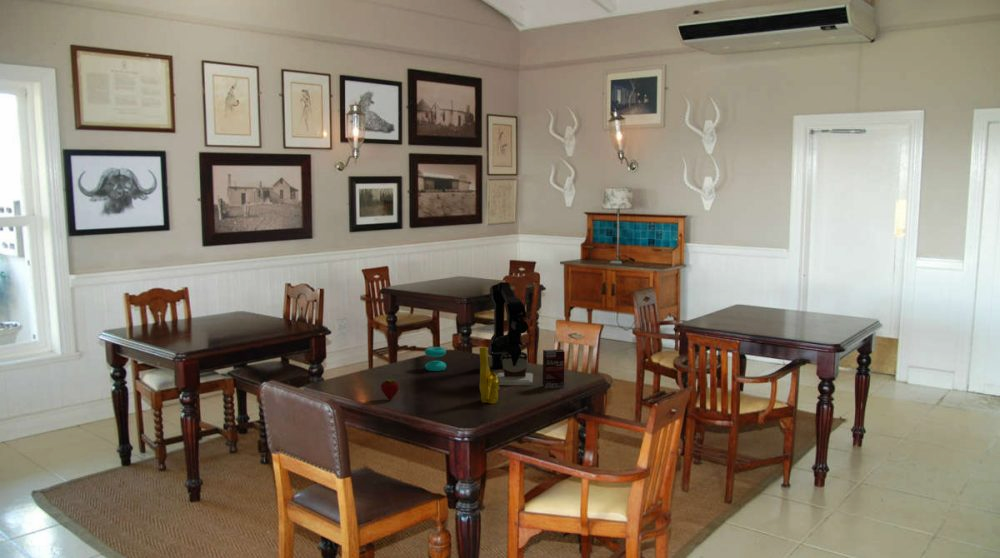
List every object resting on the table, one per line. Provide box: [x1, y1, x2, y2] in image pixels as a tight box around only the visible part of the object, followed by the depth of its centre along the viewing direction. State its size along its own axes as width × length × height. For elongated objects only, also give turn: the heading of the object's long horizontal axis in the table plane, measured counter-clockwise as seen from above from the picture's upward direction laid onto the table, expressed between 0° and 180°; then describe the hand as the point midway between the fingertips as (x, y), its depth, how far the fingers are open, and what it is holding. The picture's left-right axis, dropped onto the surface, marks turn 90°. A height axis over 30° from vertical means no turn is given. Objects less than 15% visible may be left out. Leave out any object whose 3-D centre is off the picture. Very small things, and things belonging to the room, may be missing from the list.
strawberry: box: [380, 378, 400, 401], centre depth 317 cm, size 6×8×10 cm
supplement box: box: [542, 349, 566, 389], centre depth 337 cm, size 9×5×16 cm, turn 102°
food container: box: [501, 351, 529, 377], centre depth 349 cm, size 12×6×10 cm, turn 87°
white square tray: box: [496, 372, 534, 386], centre depth 349 cm, size 16×16×2 cm
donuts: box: [424, 346, 447, 372], centre depth 371 cm, size 10×10×10 cm
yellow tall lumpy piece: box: [479, 346, 501, 405], centre depth 313 cm, size 18×8×22 cm, turn 166°
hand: (514, 364), depth 348 cm, fingers closed on food container, 6 cm apart
